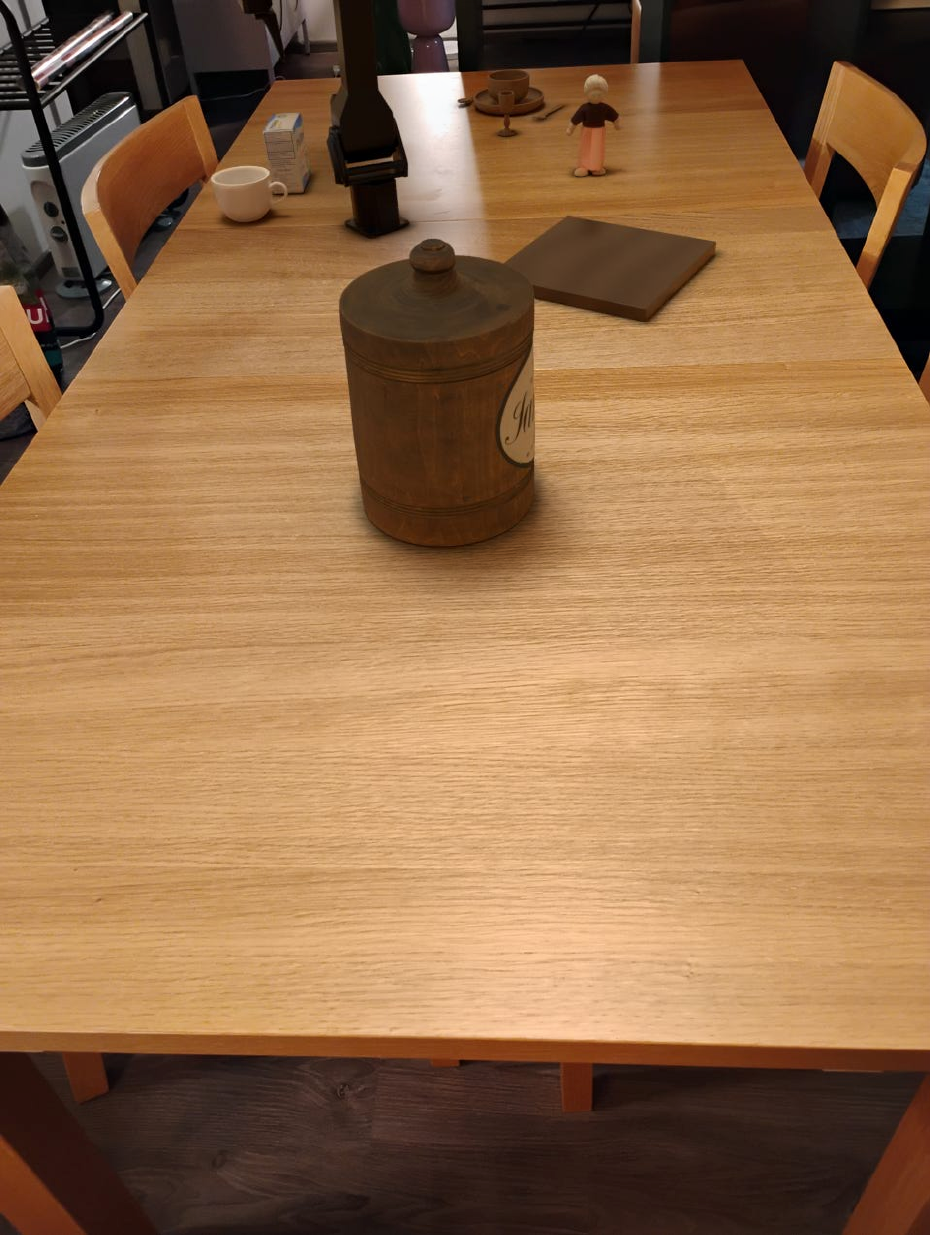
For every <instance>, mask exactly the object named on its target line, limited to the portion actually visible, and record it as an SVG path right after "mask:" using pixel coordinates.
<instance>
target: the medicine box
mask: <svg viewBox="0 0 930 1235" xmlns="http://www.w3.org/2000/svg"><path fill="white" fill-rule="evenodd" d="M304 127H305V126H304V122H303V116H302V113H301V112H284V113H283V112H281V113H274V114H272V115H271V117H270V119H269V120H268V123H267V124H266V125H265V128H264V129H263V131H262V137H263V144H264V150H265V155H266V159H267V165H268V170H269V172H270V178H271V183H273V182H281V183H283V184H284V185H285V186H286V188H287V192H288V194H303V193H304V191H305V189H306V186H307V184H308V181H309V179H310V176H311V173H312V172H311V166H310V159H309V154H308V147H307V141H306V134H305V128H304ZM273 193H274V195H275V194H276V195H284V190H283V188H282V187H281V186H276V187H275V188H274V190H273Z"/></svg>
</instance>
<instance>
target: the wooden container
mask: <svg viewBox="0 0 930 1235" xmlns="http://www.w3.org/2000/svg"><path fill="white" fill-rule="evenodd" d="M503 263H504V262H500V261H498V260H497V261H496V260H493V259H489V258H485V257H481V256H474V255H462V254H456V253H455V249H454V247H453V246H452V245H451V244H450V243H448V242H446V241H444V240H442V239H441V238H426V239H424V240H422V241H421V242H419V243H418V244H416V245H415V246H414V247H412V249H411V250H410V252H409V255H408V258H405V259H404V258H403V259H400V260H396V261H392V262H389V263H385V264H382V265H380V266H377V267H375V268H373V269H371V270H368V271H366V272H364V273H363V274H360V275H359V276H358V277H356V278H355V279H353V280H351V282H349V284H347V285H346V286H345V288H344V289H343V291H341V294H340V296H339V300H338V314H339V328H340V332H341V340H342V346H343V351H344V362H345V369H346V378H347V388H348V395H349V407H350V417H351V427H352V434H353V435H352V436H353V444H354V448H355V449H354V450H355V457H356V464H357V469H358V477H359V484H360V490H361V492H360V493H361V499H362V504H363V508H364V511H365V513H366V515H367V517H368V519H369V520H370V521H371V523H373V525H374V526H376V527H377V528H378V529H379V530H380V531H382V532H384V533H385V534H387V535H388V536H391V537H393V538H394V539H397V540H399V541H402V542H406V543H408V544H413V545H419V546H425V547H456V546H464V545H471V544H475V543H479V542H483V541H486V540H488V539H491V538H494V537H496V536H498V535H500V534H502V533H504V532H506V531H507V530H509V529H511V528H512V527H513V526H515V525H516V524H517V523H519V522H520V521H521V520H522V519H523V517H525V516H526V514H527V513H528V512H529V510H530V508H531V506H532V504H533V501H534V495H535V455H536V408H535V407H536V406H535V404H536V403H535V378H534V377H535V374H534V373H535V369H534V366H535V365H534V364H535V363H534V362H535V358H534V357H535V356H534V332H535V298H534V291H533V287H532V284H531V283H530V281H529V280H528V279H527V278H526V277H525V276H524V275H523V274H522V273H521V272H519V271H518V270H516V269H514V268H513V267H510V266H508V265H506V264H503Z"/></svg>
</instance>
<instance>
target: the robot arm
mask: <svg viewBox="0 0 930 1235" xmlns="http://www.w3.org/2000/svg"><path fill="white" fill-rule="evenodd" d="M236 1H237V3H238V5H239V7H240V8H241V11H242V13H243V14H246V15H252V17H253V18H254V20H256V21H260V20H262V21H263V23H264V25H265V27H266V29H267V31H268V33H269V35H270V37H271V40H272V42H273V44H274V45H273V46H274V47H275V49H276V51H277V54H278V56H279V59H280V61H281V62H285V61H286V58H285V50H284V49H285V48H284V44H283V40H282V35H281V30H280V26H279V21H278V17H277V12H276V11H275V9H274V8H273V5H274V2H273V0H236ZM332 5H333V6H332V7H333V15H334V16H333V17H334V25H335V36H336V46H337V56H338V66H339V76H340V77H339V78H340V86H339V88H338V90H337V92H336V93H332V94H331V97H330V101H329V106H330V116H331V126H329V127H328V134H327V138H326V141H325V142H326V146H327V150H328V154H329V158H330V162H331V166H332V170H333V171H332V172H333V179H334V183H335V185H340V186H343V188H349V192H350V201H351V207H352V208H351V209H352V216H353V217H352V218H349V219H346V220H344V225H345V226H346V227H348V228H350V229H352V230H354V231H356V232H358V233H360V234H362V235H363V236H366V237H368V238H375V237H378V236H381V235H384V234H386V233H390V232H392V231H395V230H398V229H402V228H404V227H406V226H409V225H411V222H410V221H411V220H410V219H408V218H406V217H403V216H402V215H400V207H399V197H398V185H397V179H399V178H408V177H409V161H408V158H407V154H406V151H405V147H404V144H403V140H402V137H401V133H400V129H399V126H398V122H397V120H396V118H395V116H394V112H393V109H392V108H391V107H390V105H389V104H388V102H387V101H386V99H385V97H384V96H383V94H382V93H381V91H380V89H379V79H378V77H379V76H378V64H377V62H378V61H377V51H376V50H377V49H376V36H375V24H374V23H375V22H374V11H373V10H374V9H373V0H332ZM390 158H392V160H386V161H381V162H380V161H379V162H375V163H369V164H363V165H357V166H350V167H348V166H347V165H354V164H359V163H366V162H371V161H378V160H384V159H390Z"/></svg>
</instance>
